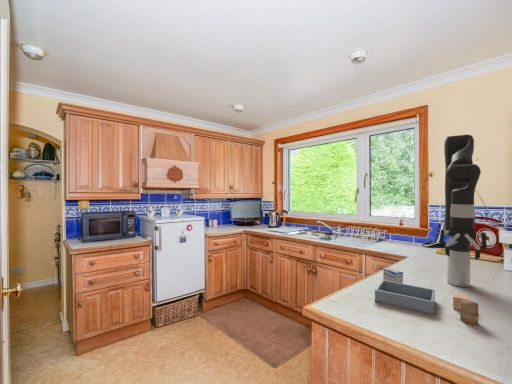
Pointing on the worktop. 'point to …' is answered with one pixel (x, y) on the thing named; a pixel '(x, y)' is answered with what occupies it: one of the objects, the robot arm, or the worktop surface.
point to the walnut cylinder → (469, 312)
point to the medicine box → (392, 275)
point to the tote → (406, 296)
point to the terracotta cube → (458, 300)
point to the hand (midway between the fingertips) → (462, 257)
